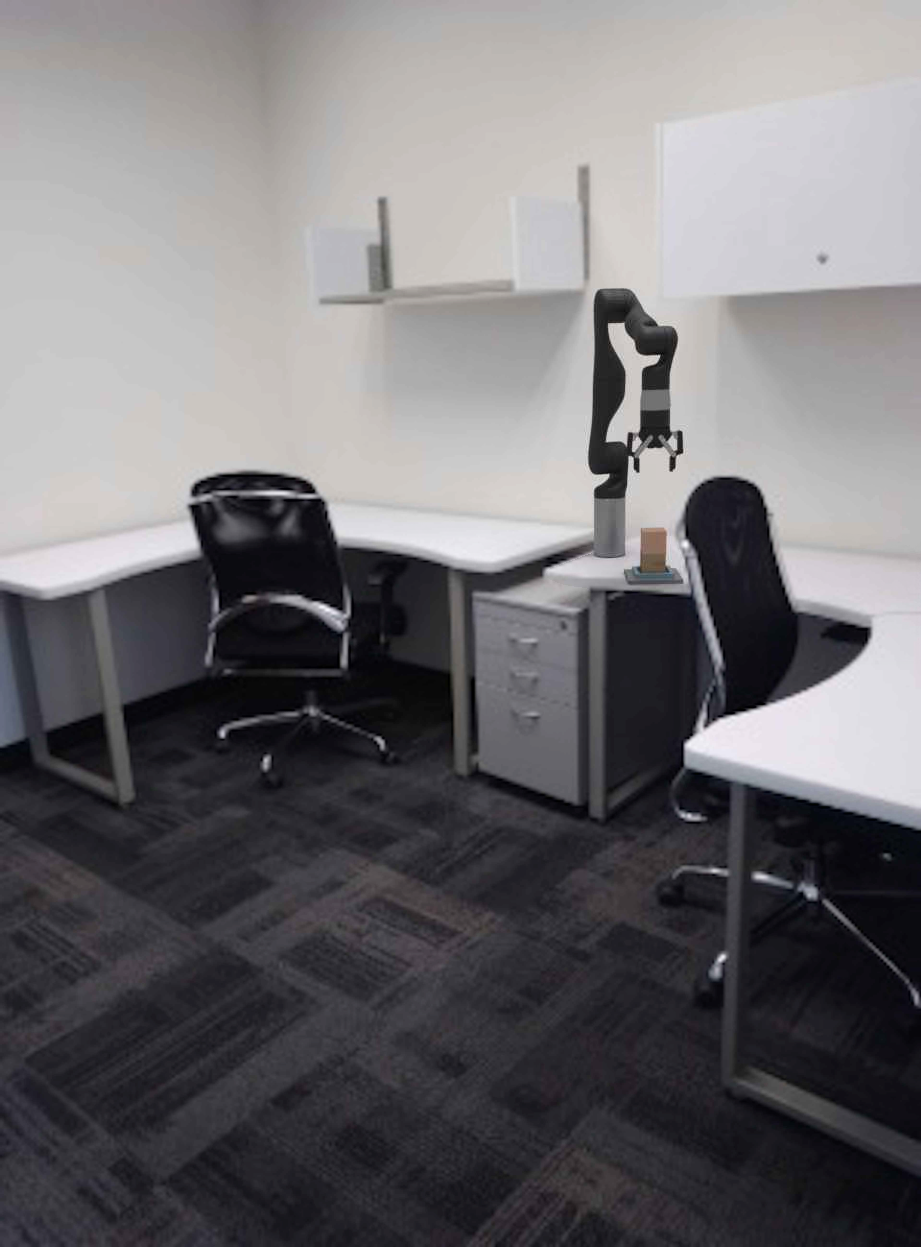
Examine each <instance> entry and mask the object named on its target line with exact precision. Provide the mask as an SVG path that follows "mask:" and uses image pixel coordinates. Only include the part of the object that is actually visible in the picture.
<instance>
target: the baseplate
mask: <svg viewBox="0 0 921 1247" xmlns="http://www.w3.org/2000/svg"><path fill="white" fill-rule="evenodd" d="M623 574H624V577H625V579H626V581H627V584H628V585H663V584H666V585H667V584H684V578H683V577H682V575H681V574H680V572H679V571H678V569H677V568H676V567H671V566H670V565H668V564H666V573H640V565H632V566H631V568H623Z"/></svg>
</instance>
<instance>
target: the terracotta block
mask: <svg viewBox="0 0 921 1247" xmlns="http://www.w3.org/2000/svg"><path fill="white" fill-rule="evenodd" d="M667 535H668V534H667V530H666V529H665V527H661V526H659V527H640V550H641V552H642V554H643V555H648V554H666V555H667Z"/></svg>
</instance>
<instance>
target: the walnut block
mask: <svg viewBox="0 0 921 1247" xmlns="http://www.w3.org/2000/svg"><path fill="white" fill-rule="evenodd" d="M639 553H640V554H639V566H640V573H666V565H667V553H666V554H648V555H643V554H642V552H641V549H640V552H639Z"/></svg>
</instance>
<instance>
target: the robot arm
mask: <svg viewBox="0 0 921 1247" xmlns="http://www.w3.org/2000/svg"><path fill="white" fill-rule="evenodd" d="M609 324H624V325H623V326H624V330H625V332H626V334H627V336H629V337H630V338H631V339H632V340H633V341H634V347H635V350H636V353H638V354H639V355H641V356H643V357H644V356H649V357H650V356H659V357H658V358H659V359H658V360H657V362H656V363H654V364H651V365H647V366H644V367H643V368H642V370H641V391H640V392H641V394H640V400H639V401H640V402H639V404H640V405H639V406H640V407H639V409H640V410H639V431H638V432H632V431H628V432H627V435H626V436H627V437H626V438H627V439H626V444H625V442H623V441H620V440H619V441H617V440H616V441H607V435H608V431H609V427H610V424H611V422H612V420H613V419H614V416H615V415H616V413H617V412H618V411H619V409H620V407H621V405H622V403H623V401H624V399H625V396H626V385H627V382H626V378H627V372H626V369H625V367H624V364H623V363H622V362H623V361H622V360H621V359H620V357H619V355H618V354H617V352H616V350H615V348H614V346H613V344H612V341H611V338H610V334H609V333H610V332H609ZM593 334H594V335H593V337H594V338H593V339H594V356H593V371H592V372H593V374H592V404H591V406H592V410H591V413H592V414H591V425H590V431H589V432H590V434H589V443H588V451H587V464H588V467H589V471H590V473H591V474H593V475H595V476H598V475H601V476H603V475H609V476H608V478H607V479H606V480H605V481H604V482H602V483H601V484H599V485H597V486H596V487H595V488H594V490H593V554H594V556H596V557H602V558H617V557H622V556H625V555H626V496H627V495H626V493H627V489H628V481H629V480H628V479H629V478H628V477H629V476H628V474H629V462H630V460H629V459H630V458H631V457H632V458H633V470H634V471H635V473H637V474H640V471H641V470H640V468H641V466H640V464H641V463H640V461H641V459H640V456H641V454H642V453H643V452H644V451H645V450H646V449H649V450H650V449H663V448H664V449H665V450H666V451H667V452H668V454H669V458H668V459H669V461H668V462H669V465H668V470H669V472H670V473H671V472H672V473H673V472H674V470H675V469H676V465H677V464H676V462H677V457H678V456H680V455H683V454H684V439H683V438H684V435H683V433H684V432H683V431H682V430H680V429H677V430H675V431H673V430H671V407H672V405H671V404H672V403H671V392H670V390H671V389H670V387H671V386H670V385H671V382H670V381H671V370H672V366H673V360H674V357H675V354H676V351H677V348H678V343H679V336H678V332H677V330H676V329H675V327H673V326H672V325H659V324H658V323H657V320H655V319H654V318H653V317H652V316H650V315H649V314H648V312H647V313H646V311H645V310H644V308H643V306H642V304H641V302H640V300H639V299H638V297H637V295H636V293H634V292H633V291H632V290H631V289H629V288H622V287H621V288H617V287H616V288H607V287H606V288H599V289H598V290H597V291H596V293H595V295H594V299H593ZM672 436H673V438H674V439H675V440H676V448H677V449H675V450H674V449H673V448H672V446H671V445H670V443H669V440H670V439H671V437H672ZM637 438H638V439H639V440H640V442H641V443H639V446H637V448H636V449H635V451H633V441H636V439H637ZM629 457H630V458H629Z"/></svg>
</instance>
